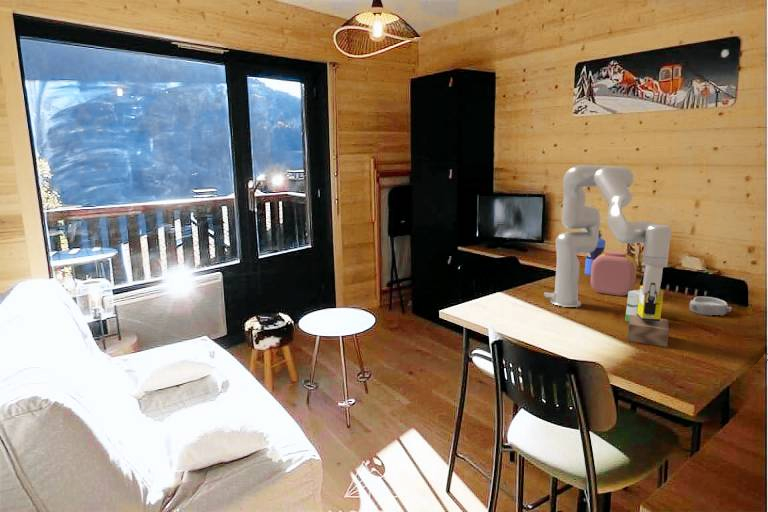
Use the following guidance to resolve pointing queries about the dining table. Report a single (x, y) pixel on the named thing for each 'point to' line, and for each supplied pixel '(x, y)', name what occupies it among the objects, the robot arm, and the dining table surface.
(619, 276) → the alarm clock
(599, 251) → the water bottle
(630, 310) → the ink box
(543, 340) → the dining table surface
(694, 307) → the dish
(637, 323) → the walnut block
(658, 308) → the supplement box
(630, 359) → the dining table surface
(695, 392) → the dining table surface
